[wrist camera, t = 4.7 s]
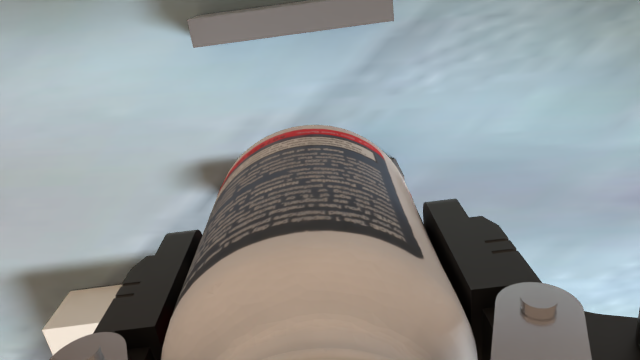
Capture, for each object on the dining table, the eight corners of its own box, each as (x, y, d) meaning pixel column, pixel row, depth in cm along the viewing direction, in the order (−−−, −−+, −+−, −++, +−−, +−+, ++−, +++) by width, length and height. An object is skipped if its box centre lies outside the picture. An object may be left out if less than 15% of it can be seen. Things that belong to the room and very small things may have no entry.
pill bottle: (179, 196, 13) (-22, 546, 5) (334, 80, 12) (388, 294, 4) (298, 320, 15) (287, 731, 7) (444, 229, 14) (635, 589, 6)
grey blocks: (383, -10, 24) (392, -9, 21) (396, 178, 28) (405, 197, 25) (198, 15, 24) (187, 19, 22) (237, 199, 28) (231, 219, 25)
